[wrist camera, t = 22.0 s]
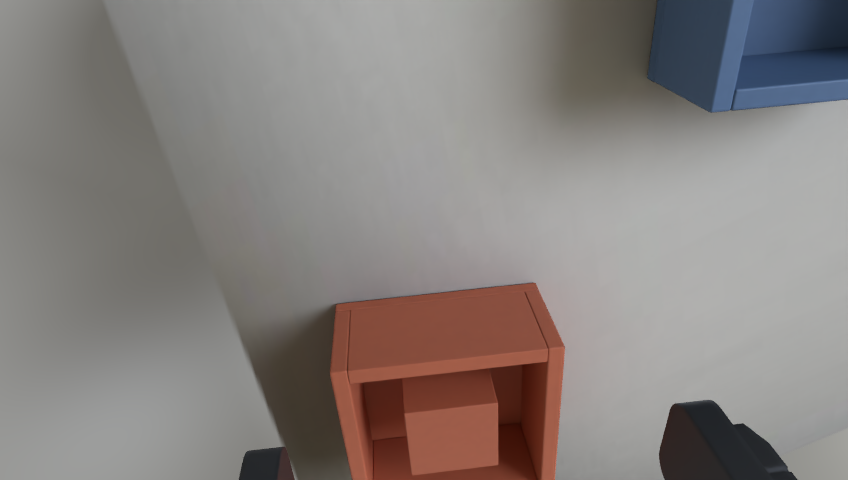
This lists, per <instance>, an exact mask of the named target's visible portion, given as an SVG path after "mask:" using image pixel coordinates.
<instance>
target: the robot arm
mask: <svg viewBox="0 0 848 480" xmlns="http://www.w3.org/2000/svg"><path fill="white" fill-rule="evenodd" d="M659 459H660V466H661V470H662V473H663V476H664V479H665V480H797V479H796V477H795V476H794V475H793V473H792V472H789V471H788V469H787V466H786V464H785V463H784V462H783V460H782V459H781V458H780V457H779V455H778V454H777V453H776V452H775V450H774V449H773V448H772V446H771V445H770V444H769V443H768V442H767V441H766V440H764V439H763V438H762V437H760V436H759V435H758V434H756V433H755V432H754V431H752V430H751V429H750V428H748V427H747V426H746V425H744V424H735V425H733V424H732V423H731V422H730V420H729V419H728V417H727V416H726V415H725V413H724V412H723V411H722V409H721V408H720V407H719V406H718V405H717V404H716V403H715V402H714V401H712V400H703V401H694V402H686V403H677V404H674V405H672V407H671V409H670V412H669V416H668V420H667V424H666V428H665V432H664V435H663V439H662V443H661V447H660V452H659ZM239 480H294V476H293V472H292V468H291V464H290V460H289V457H288V453H287V450H286V448H285V447H278V448H269V449H261V450H251V451H247V452H246V454H245V456H244V459H243V463H242V467H241V473H240V477H239Z"/></svg>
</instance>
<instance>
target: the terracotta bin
mask: <svg viewBox="0 0 848 480" xmlns="http://www.w3.org/2000/svg"><path fill="white" fill-rule="evenodd" d="M564 353H565V346H564V344H563V342H562V340H561V338H560V335H559V333H558V331H557V329H556V327H555V325H554V322H553V320H552V318H551V316H550V314H549V312H548V309H547V307H546V305H545V303H544V301H543V299H542V296H541V294H540V292H539V291H538V288H537V285H536V283H528V284H519V285H509V286H500V287H491V288H481V289H472V290H463V291H453V292H444V293H435V294H426V295H416V296H407V297H398V298H388V299H379V300H370V301H360V302H351V303H342V304H336V309H335V321H334V332H333V344H332V355H331V366H330V377H331V382H332V386H333V391H334V396H335V401H336V405H337V410H338V415H339V420H340V424H341V429H342V434H343V439H344V443H345V448H346V453H347V458H348V462H349V467H350V472H351V477H352V480H555V470H556V457H557V444H558V431H559V418H560V405H561V392H562V379H563V366H564ZM487 368H489V371H490V375H491V379H492V382H493V386H494V390H495V394H496V397H497V401H498V465H494V466H486V467H478V468H470V469H461V470H453V471H445V472H437V473H428V474H420V475H412V474H411V467H410V459H409V451H408V443H407V435H406V428H405V420H404V410H403V396H402V381H401V378H407V377H416V376H425V375H434V374H443V373H452V372H460V371H469V370H478V369H487Z"/></svg>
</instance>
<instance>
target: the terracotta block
mask: <svg viewBox="0 0 848 480" xmlns="http://www.w3.org/2000/svg"><path fill="white" fill-rule="evenodd" d="M401 381H402V396H403V410H404V420H405V428H406V435H407V443H408V451H409V459H410V467H411V474H412V475H420V474H428V473H437V472H445V471H453V470H461V469H470V468H478V467H486V466H494V465H498V401H497V397H496V394H495V390H494V386H493V382H492V379H491V375H490V371H489V368H487V369H478V370H469V371H460V372H452V373H443V374H434V375H425V376H416V377H407V378H401Z"/></svg>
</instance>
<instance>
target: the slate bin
mask: <svg viewBox="0 0 848 480" xmlns="http://www.w3.org/2000/svg"><path fill="white" fill-rule="evenodd" d="M647 78H648V79H650V80H651V81H653V82H656V83H658V84H659V85H661V86H663V87H665V88H667V89H668V90H670V91H672V92H674V93H676V94H677V95H679V96H681V97H683V98H685V99H687V100H688V101H690V102H692V103H694V104H696V105H697V106H699V107H701V108H703V109H705V110H707V111H708V112H711V113H712V112H722V111H729V110H732V111H734V110H744V109H754V108H765V107H775V106H785V105H796V104H806V103H816V102H827V101H837V100H847V99H848V0H658V2H657V9H656V17H655V24H654V32H653V40H652V47H651V55H650V62H649V70H648V77H647Z"/></svg>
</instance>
